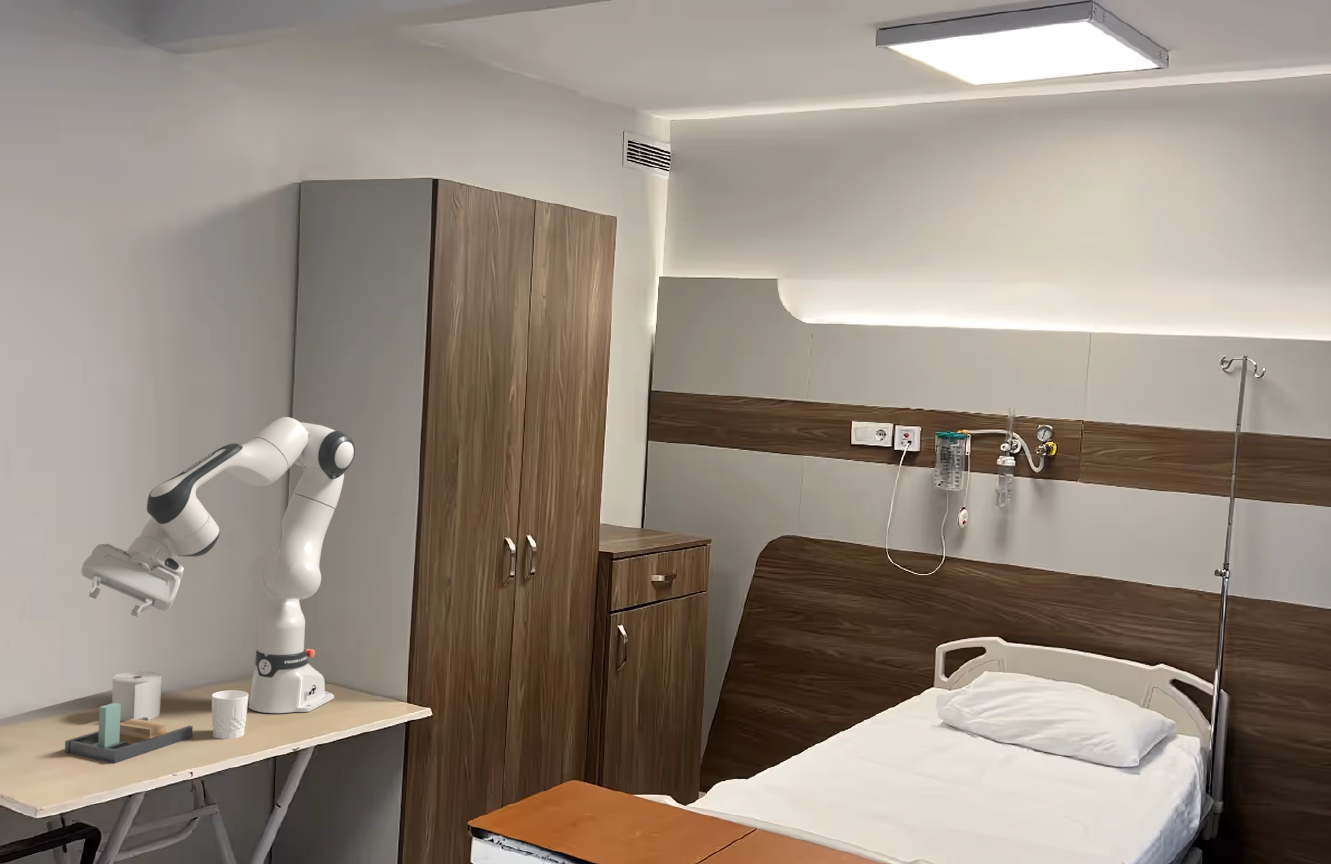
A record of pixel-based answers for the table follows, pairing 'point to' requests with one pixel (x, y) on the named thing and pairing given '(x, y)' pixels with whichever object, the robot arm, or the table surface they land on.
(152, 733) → the offcut stack
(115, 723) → the sage board
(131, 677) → the toilet tissue
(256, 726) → the table surface
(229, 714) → the white cup
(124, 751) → the tray
